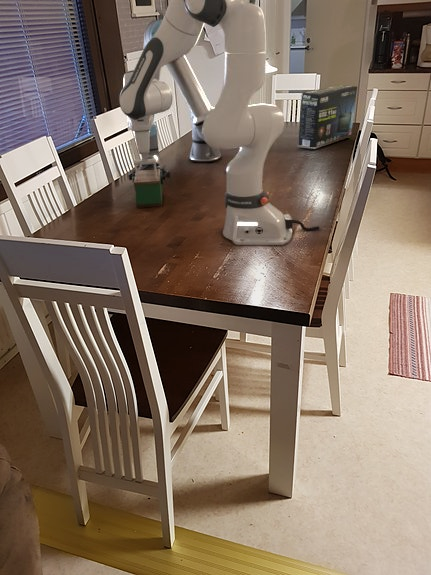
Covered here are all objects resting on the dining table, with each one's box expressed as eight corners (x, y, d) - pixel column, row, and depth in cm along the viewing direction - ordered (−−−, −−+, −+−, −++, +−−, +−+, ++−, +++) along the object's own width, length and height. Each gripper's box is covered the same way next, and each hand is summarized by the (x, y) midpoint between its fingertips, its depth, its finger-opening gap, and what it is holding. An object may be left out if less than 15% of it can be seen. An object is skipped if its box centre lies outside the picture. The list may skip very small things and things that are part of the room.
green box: (161, 206, 173) (159, 182, 169) (137, 207, 173) (134, 184, 168) (162, 193, 185) (160, 171, 180) (139, 195, 185) (136, 173, 180)
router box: (314, 151, 231) (318, 94, 217) (296, 148, 237) (299, 92, 224) (352, 138, 251) (358, 85, 238) (335, 135, 258) (340, 83, 245)
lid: (159, 183, 168) (157, 160, 164) (134, 185, 168) (131, 162, 163) (160, 171, 180) (157, 150, 176) (136, 173, 180) (133, 151, 176)
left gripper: (176, 172, 200) (177, 189, 181) (126, 175, 199) (121, 192, 179) (175, 155, 196) (176, 170, 177) (123, 158, 195) (118, 174, 176)
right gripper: (130, 115, 168) (135, 153, 175) (131, 127, 150) (136, 168, 158) (148, 114, 169) (152, 152, 176) (150, 126, 151) (155, 167, 158)
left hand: (148, 181), depth 178 cm, fingers closed on green box, 9 cm apart
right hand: (144, 160), depth 167 cm, fingers open, 8 cm apart
